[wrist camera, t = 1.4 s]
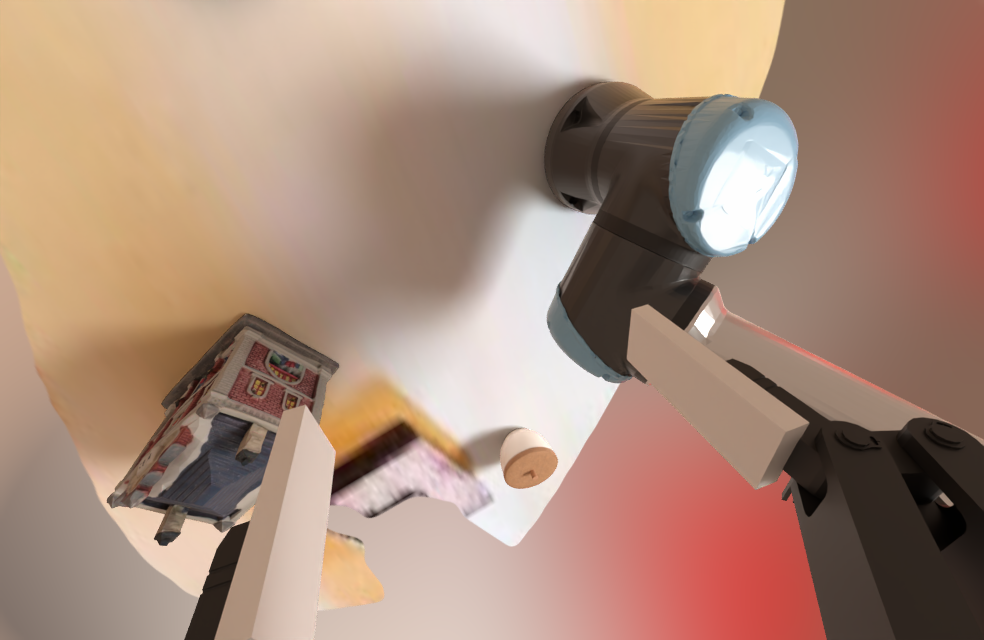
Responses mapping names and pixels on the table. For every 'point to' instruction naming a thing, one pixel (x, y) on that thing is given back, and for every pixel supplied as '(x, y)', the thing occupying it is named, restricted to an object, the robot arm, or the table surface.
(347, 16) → the table surface
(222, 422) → the model building
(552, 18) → the table surface
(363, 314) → the table surface
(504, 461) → the lidded jar
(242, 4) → the table surface
